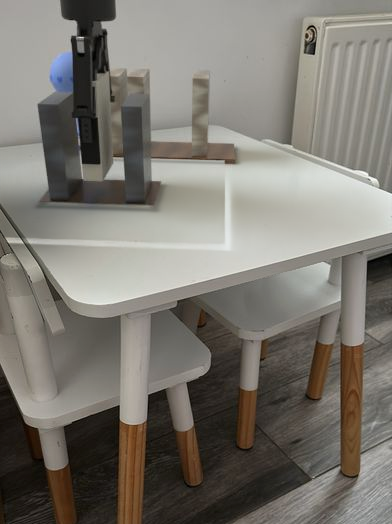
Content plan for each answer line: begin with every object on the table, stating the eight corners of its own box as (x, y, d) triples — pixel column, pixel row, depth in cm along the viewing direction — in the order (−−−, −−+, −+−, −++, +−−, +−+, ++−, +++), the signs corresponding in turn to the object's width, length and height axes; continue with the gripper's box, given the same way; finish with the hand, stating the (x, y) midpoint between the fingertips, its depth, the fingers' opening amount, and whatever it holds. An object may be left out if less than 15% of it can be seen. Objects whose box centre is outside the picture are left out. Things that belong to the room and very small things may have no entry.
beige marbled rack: (102, 160, 110) (96, 76, 101) (112, 144, 119) (107, 67, 111) (234, 164, 109) (239, 80, 100) (233, 148, 119) (237, 70, 110)
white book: (83, 180, 86) (75, 80, 78) (95, 162, 94) (89, 70, 86) (102, 181, 86) (96, 81, 78) (113, 163, 94) (108, 71, 86)
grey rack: (39, 207, 87) (24, 105, 79) (58, 183, 97) (47, 90, 89) (154, 211, 87) (151, 108, 78) (161, 186, 97) (159, 93, 88)
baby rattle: (59, 155, 112) (46, 55, 102) (57, 144, 119) (46, 49, 109) (102, 153, 114) (94, 54, 103) (98, 143, 120) (90, 49, 110)
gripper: (98, -11, 66) (109, 176, 79) (126, -14, 85) (131, 137, 97) (36, -14, 66) (56, 174, 79) (77, -16, 85) (88, 136, 98)
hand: (97, 154), depth 88 cm, fingers closed on white book, 10 cm apart
